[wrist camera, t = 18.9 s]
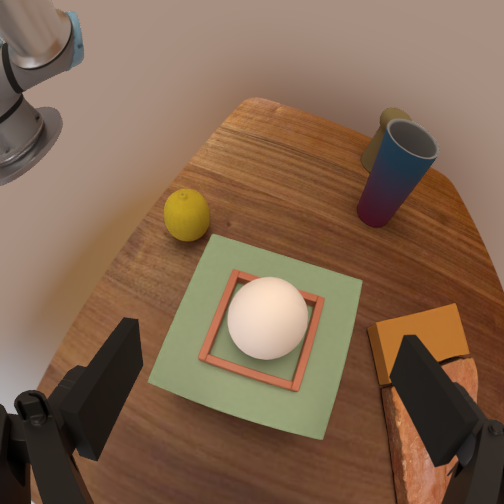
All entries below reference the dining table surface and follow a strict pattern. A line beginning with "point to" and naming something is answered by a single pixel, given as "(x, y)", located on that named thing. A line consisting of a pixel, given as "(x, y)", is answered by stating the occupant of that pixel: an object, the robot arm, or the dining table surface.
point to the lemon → (186, 215)
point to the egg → (267, 318)
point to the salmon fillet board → (397, 418)
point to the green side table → (249, 368)
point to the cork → (380, 136)
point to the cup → (396, 170)
